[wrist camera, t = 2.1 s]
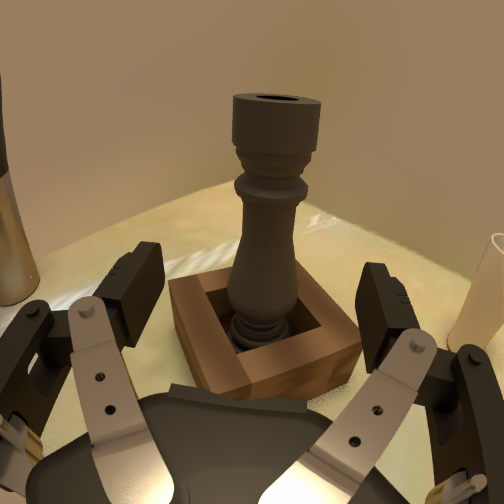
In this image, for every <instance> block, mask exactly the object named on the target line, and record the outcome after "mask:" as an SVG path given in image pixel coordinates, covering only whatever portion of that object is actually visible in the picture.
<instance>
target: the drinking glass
mask: <svg viewBox="0 0 504 504" xmlns="http://www.w3.org/2000/svg"><path fill="white" fill-rule="evenodd" d="M503 324H504V234H501V233H496V234H493V235H492V237H491V239H490V241H489V243H488V245H487V247H486V249H485V252H484V254H483V256H482V259H481V261H480V263H479V266H478V268H477V271H476V274H475V276H474V279H473V281H472V284H471V287H470V289H469V292H468V294H467V297H466V299H465V302H464V304H463V307H462V309H461V311H460V313H459V316H458V318H457V320H456V322H455V324H454V326H453V328H452V330H451V331H450V333H449V335H448V340H447V342H448V346H449V349H450V350H451V352H455V353H457V352H458V350H459V348H460V347H461V346H463V345H465V344H473V345H476V346H478V347H480V348H481V349H484V348H485V347H486V345H487V344H488V343H489V342H490V340H491V339H492V338H493V337H494V335H495V334H496V333H497V331H498V330H499V329H500V328H501V326H502V325H503Z"/></svg>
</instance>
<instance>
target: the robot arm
mask: <svg viewBox="0 0 504 504" xmlns="http://www.w3.org/2000/svg"><path fill="white" fill-rule="evenodd" d="M39 279H40V276H39V273H38V270H37V267H36V264H35V261H34V259H33V256H32V253H31V250H30V247H29V244H28V241H27V238H26V235H25V231H24V228H23V224H22V221H21V217H20V214H19V210H18V206H17V202H16V198H15V194H14V190H13V186H12V182H11V177H10V172H9V167H8V162H7V157H6V144H5V137H4V129H3V117H2V91H1V76H0V305H1V306H8V305H12V304H15V303H18V302H20V301H22V300H24V299H25V298H26V297H28V296H29V295H30V294H31V293H32V292H33V291H34V290H35V289H36V287H37V285H38V283H39ZM164 284H165V272H164V265H163V257H162V250H161V245H160V243H155V242H144V241H141V242H140V243H139V244H138V246H137V247H136V248H135V250H134V251H133V252H132V253H130V252H128V253H127V254H125V255H124V256H122V257H121V258H119V259H118V260H117V262H116V263H115V264H114V266H113V269H111V270H110V271H109V273H108V275H106V277H105V278H104V279H103V281H102V282H101V284H100V285H99V286H98V288H97V289H96V291H95V292H94V293H93V295H92V296H87V297H83V298H80V299H78V300H76V301H75V302H74V303H73V304H72V305H71V306H70V307H69V310H60V311H51V309H50V307H49V304H48V303H47V302H46V301H44V300H33V301H31V302H28V303H27V304H25V305H24V306H23V307H22V308H21V309H20V310H19V312H18V313H17V314H16V316H15V317H14V319H13V320H12V322H11V323H10V324H9V326H8V327H7V329H6V330H5V332H4V333H3V335H2V336H1V338H0V488H2V489H4V490H5V491H8V492H16V493H18V494H19V495H22V496H23V497H25V498H26V503H27V504H410V503H409V502H408V501H407V500H406V499H405V498H404V497H403V496H402V495H401V494H400V493H399V492H398V491H397V490H396V489H395V487H394V486H393V485H392V484H391V483H390V482H389V481H388V480H387V479H386V478H385V477H384V476H383V475H382V474H381V473H380V471H379V470H378V469H377V468H376V467H375V466H374V465H375V463H376V462H377V460H378V459H379V458H380V456H381V455H382V453H383V452H384V450H385V449H386V447H387V446H388V444H389V442H390V441H391V439H392V438H393V436H394V435H395V433H396V431H397V430H398V428H399V426H400V425H401V423H402V421H403V420H404V418H405V416H406V415H407V413H408V411H409V409H410V408H411V406H412V404H413V403H414V404H418V405H422V406H425V409H426V415H427V422H428V429H429V436H430V443H431V451H432V460H433V470H434V481H435V487H434V488H433V489H431V491H430V492H429V493H428V495H427V497H426V499H425V504H504V400H503V397H502V393H501V390H500V387H499V384H498V381H497V379H496V376H495V373H494V370H493V367H492V365H491V362H490V359H489V357H488V355H487V354H486V352H485V351H484V350H483V349H481V348H480V347H478V346H476V345H473V344H465V345H463V346H461V347H460V348H459V350H458V352H457V353H455V352H451V351H448V350H444V349H441V348H438V347H437V344H436V342H435V340H434V338H433V337H432V336H431V335H430V334H428V333H427V332H425V331H423V330H421V329H420V326H419V323H418V321H417V318H416V315H415V313H414V310H413V307H412V305H411V304H410V303H411V302H410V300H409V297H407V296H408V295H407V292H406V290H405V287H404V285H403V284H402V283H401V282H400V281H399V280H398V279H397V278H396V277H390V275H389V272H388V270H387V267H386V265H385V264H383V263H372V262H366V263H365V265H364V268H363V271H362V275H361V279H360V282H359V286H358V289H357V292H356V297H355V310H356V315H357V320H358V325H359V330H360V336H361V341H362V347H363V353H364V359H365V365H366V371H367V374H371V375H370V377H369V378H368V379H367V381H366V382H365V383H364V385H363V386H362V387H361V389H360V390H359V391H358V392H357V394H356V395H355V396H354V398H353V399H352V400H351V401H350V403H349V404H348V405H347V406H346V408H345V409H344V410H343V411H342V412H341V414H340V415H339V416H338V417H337V418H336V420H335V421H334V422H333V421H332V420H330V419H329V418H327V417H326V416H324V415H322V414H320V413H318V412H315V411H313V410H309V409H307V399H293V398H279V397H269V398H261V399H252V400H243V401H236V400H232V399H230V398H227V397H224V396H221V395H219V394H216V393H213V392H211V391H208V390H206V389H202V388H196V387H190V386H184V385H178V384H173V383H171V386H170V389H169V392H165V393H157V394H153V395H149V396H146V397H144V398H141V399H139V397H138V395H137V393H136V390H135V388H134V385H133V383H132V380H131V377H130V375H129V372H128V369H127V367H126V364H125V361H124V358H123V356H122V353H121V351H122V349H123V347H124V346H127V347H132V348H135V346H136V344H137V342H138V340H139V338H140V336H141V333H142V331H143V329H144V327H145V325H146V323H147V321H148V319H149V317H150V315H151V313H152V311H153V309H154V307H155V304H156V302H157V300H158V298H159V296H160V294H161V292H162V290H163V288H164ZM35 353H37V354H38V358H37V360H36V362H35V363H34V365H33V367H32V369H31V371H30V373H29V374H28V366H29V364H30V362H31V360H32V359H33V357H34V355H35ZM71 367H72V368H73V373H74V378H75V382H76V387H77V391H78V395H79V400H80V404H81V408H82V412H83V415H84V419H85V423H86V426H87V430H88V432H86V433H85V434H83V435H82V436H80V437H78V438H77V439H75V440H73V441H72V442H70V443H68V444H67V445H65V446H63V447H62V448H60V449H58V450H57V451H55V452H53V453H51V454H50V455H48V456H46V457H45V458H44V456H43V454H42V452H43V445H42V442H41V440H40V437H41V435H42V432H43V430H44V427H45V425H46V422H47V420H48V418H49V415H50V413H51V411H52V408H53V406H54V404H55V401H56V399H57V397H58V395H59V393H60V390H61V388H62V386H63V384H64V382H65V380H66V377H67V375H68V373H69V371H70V369H71Z"/></svg>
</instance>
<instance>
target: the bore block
mask: <svg viewBox="0 0 504 504" xmlns="http://www.w3.org/2000/svg"><path fill="white" fill-rule="evenodd" d="M295 261H296V269H297V277H298V285H299V290H298V296H297V302H296V304H295V306H294V307H293V308H292V310H291V311H290V312H289V313H288V314H287V315H286V316H285V317H286V319H287V322H288V325H289V336H290V338H287V339H284V340H281V341H278V342H275V343H271V344H268V345H265V346H262V347H259V348H256V349H252V350H249V351H246V352H243V353H239V354H236V353H235V351H234V349H233V347H232V345H231V343H230V341H229V339H228V337H227V334H228V331H229V328H230V327H229V325H230V322H231V320H232V317H233V315H235V314H236V313H237V312H236V311H235V310H234V308H233V307H232V306H231V304H230V302H229V299H228V293H227V283H228V280H229V276H230V273H231V270H232V267H228V268H223V269H219V270H214V271H210V272H205V273H200V274H196V275H191V276H186V277H182V278H177V279H172V280H168V285H169V292H170V298H171V305H172V311H173V317H174V323H175V329H176V332H177V334H178V337H179V340H180V343H181V346H182V348H183V351H184V354H185V356H186V359H187V362H188V364H189V367H190V370H191V372H192V375H193V377H194V380H195V382H196V385H197V387H198V388H202V389H206V390H208V391H211V392H213V393H216V394H219V395H221V396H224V397H227V398H230V399H232V400H236V401H243V400H252V399H261V398H269V397H279V398H293V399H307V401H308V400H310V399H313V398H315V397H317V396H319V395H322V394H324V393H326V392H328V391H330V390H333V389H335V388H337V387H339V386H341V385H343V384H345V383H347V382H348V380H349V378H350V376H351V374H352V372H353V370H354V367H355V365H356V363H357V361H358V359H359V357H360V354H361V352H362V350H363V347H362V341H361V336H360V330H359V328H358V327H357V326H356V324H355V323H354V322H353V321H352V320H351V319H350V318H349V317H348V316H347V314H346V313H345V312H344V311H343V310H342V309H341V308H340V307H339V306H338V305H337V304H336V302H335V301H334V300H333V299H332V298H331V297H330V296H329V295H328V294H327V293H326V291H325V290H324V289H323V288H322V287H321V286H320V285H319V284H318V283H317V282H316V281H315V280H314V278H313V277H312V276H311V275H310V274H309V273H308V272H307V271H306V270H305V269H304V268H303V267H302V266H301V264H300V263H299V262H298V261H297V260H296V259H295Z"/></svg>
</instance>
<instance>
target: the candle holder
mask: <svg viewBox="0 0 504 504" xmlns="http://www.w3.org/2000/svg"><path fill="white" fill-rule="evenodd" d="M320 108H321V102H320V101H317V100H313V99H308V98H304V97H297V96H289V95H279V94H262V93H259V94H258V93H252V94H237V95H234V96H233V121H232V122H233V123H232V142H233V144H234V145H235V146H236V154H237V156H238V158H239V159H240V161H241V165H242V167H243V169H244V170H245V173H243V174H241V175H240V176H239V177H238V178H237V179H236V180H235V182H234V188H235V191H236V193H237V195H238V196H239V197H241V199H242V202H243V222H242V236H241V240H240V243H239V246H238V250H237V253H236V257H235V260H234V263H233V267H232V270H231V273H230V276H229V280H228V283H227V293H228V299H229V302H230V304H231V306H232V307H233V308H234V310H235V311H236V312H237V313H236V314H235V315H233V317H232V320H231V322H230V325H229V327H230V328H229V331H228V334H227V337H228V339H229V341H230V343H231V345H232V347H233V349H234V351H235V353H236V354H239V353H243V352H246V351H249V350H252V349H256V348H259V347H262V346H265V345H268V344H271V343H275V342H278V341H281V340H284V339H287V338H290V336H289V325H288V322H287V319H286V317H285V316H286V315H287V314H288V313H289V312H290V311H291V310H292V308H293V307H294V306H295V304H296V302H297V296H298V290H299V285H298V277H297V269H296V261H295V253H294V245H293V229H294V221H295V213H296V206H298V205H299V203H300V202H301V201H303V200H304V199H305V198H306V196H307V191H308V185H307V184H306V183H305V182H304V181H303V180H302V179H301V177H300V174H302V173H303V171H304V168H305V166H306V165H308V164H309V162H310V161H311V153H312V152H313V151H316V145H317V137H318V127H319V118H320Z"/></svg>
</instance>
